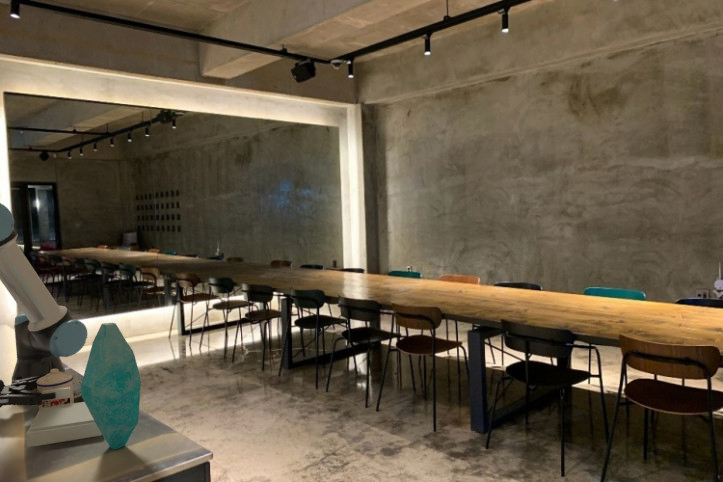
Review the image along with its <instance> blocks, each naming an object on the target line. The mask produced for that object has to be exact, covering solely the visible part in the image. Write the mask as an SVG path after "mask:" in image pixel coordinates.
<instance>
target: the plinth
mask: <svg viewBox="0 0 723 482" xmlns="http://www.w3.org/2000/svg"><path fill="white" fill-rule="evenodd" d="M25 435H26V448H31V447H40V446H44V445H51V444H58V443H62V442H69V441H77V440H83V439H88V438H93V437H101V436H103V435H102V433H101V432H100V430H99V429H98V427H97V425H96V423H95V421H94V419H93V417H92V415H91V413H90V411H89V409H88V407H87V405H86V404H85V402H84V401H82V402H74V403H72V404H65V405H57V406H50V407H43V408H42V409H40V410H39V409H38V412H37V414H36V415H35V417H34V419H33V421H32V422H31V424H30V426H29V428H28V430H27V431H26V434H25Z"/></svg>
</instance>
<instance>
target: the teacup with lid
mask: <svg viewBox="0 0 723 482" xmlns="http://www.w3.org/2000/svg"><path fill="white" fill-rule="evenodd" d="M70 373H71V372H65V373H64V372H60V371H59V370H58V369H51V370H50V373H48V374H47V375H45V376H43V377H41V378H39V379H38V380H37V382H36V385H37V388H36V392H41V394H42V391H44V390H52V389H60V388H68V387H70V398H65V399H57V400H50V401H43V400H42V405H39V406H38V411H39V410H40V409H42V408H43V407H50V406H57V405H65V404H72V403H75V402H74V401H75V400H74V399H76V398H77V399H78V398H79V397H82V395H81V391H79V393H75V394H74V385H75V384H81V383H82V379H77V380H74V381H73V376H72V374H70Z"/></svg>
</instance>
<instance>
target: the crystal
mask: <svg viewBox="0 0 723 482" xmlns="http://www.w3.org/2000/svg"><path fill="white" fill-rule="evenodd" d="M140 375H141V374H140V371H139V367H138V362H137V359H136V356H135V353H134V351H133V349H132V347H131V346H130V344H129V342H127V340H126V338H125V336H124V334H122V331H121V330H120V328H119V327H118V325H117V323H116V322H107V323H101V324H100V326H99V329H98V331H97V333H96V334H95V336H94V339H93V341H92V344H91V347H90V351H89V355H88V359H87V363H86V367H85V370H84V373H83V376H82V379H81V381H82V383H80V392H81V398H82V400H83V402H85V404H86V405H87V407H88V409H89V411H90V413H91V415H92V417H93V419H94V421H95V423H96V425H97V427H98V429H99V430H100V432H101V433H102V435H101V436H102V437H103V439H104V440H105V441H106V443H107V444H108V447H110V448H111V449H112V450H118V449H120V448H123V447H125V446H126V445H127V444H128V441H129V439H130V437H131V435H132V434H133V431H134V430H135V428H136V427H137V425H138V423H139V416H140V400H141V387H142V386H141V385H142V382H141V376H140Z"/></svg>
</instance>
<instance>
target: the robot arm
mask: <svg viewBox="0 0 723 482" xmlns="http://www.w3.org/2000/svg"><path fill="white" fill-rule="evenodd" d="M14 225H15V219H14V216H13V213H12V212H11V210H10V209H9V208H8V206H6V205H4V204H3V203H2V202H1V203H0V282H1V283H2V284H3V286H4V288H5V289H6V290H7V291H8V293H9V294H10V296H11V297H12V298H13V300H14V301H15V302H16V304H17V306H18V307H19V308H20V310H21V311H22V313H20V314H18V315H16V316H15V317H14V326H13V328H14V338H15V350H16V351H15V352H16V363H15V366H14V368H13V372H12V374H11V384H9V385H8V384H7V385H5V382H4V380H2V379H0V408H3V406H4V407H5V406H34V407H35V406H39V405H42V400H43V401H50V400H57V399H65V398H70V387H68V388H60V389H52V390H44V391H42V394H41V392H38V391H33V390H37V385H36V382H37V380H38V379H39V378H41V377H43V376H45V375H47V374H48V373H50V370H51V369H58V370H59V371H60V372H64V373H66V369H65V368H66V367H65V365H64V364H63V362H62V359H61V357H62V358H68V357H72V356H73V355H74V356H75V355H76V354H78V352H80V351H81V350H82V349H83V347H84V346H85V344H86V342H87V339H88V328H87V326H86V325H85V323H83V322H82V321H81V320H79V319H75V318H74V317H73V316H72V314H71V312H70V311H69V310H68V308H67V307H66V306H65V305H59V304H58V303H57V302H56V300H55V298H54V297H53V295H52V294H51V293H50V291H49V290H48V288H47V286H46V285H45V284H44V282H43V281H42V279H41V277H39V275H38V273H37V271H36V270H35V269H34V267H33V266H32V264H31V263H30V261H29V260H28V258H27V256H25V254H24V253H23V251H22V249H21V248H20V246H19V245H18V243H17V242H16V241H17V238H18V236H19V234H18V233H17V231H16V229H15V227H14ZM69 373H70V374H72V376H73V381H74V380H78V372H77V371H76V372H69Z"/></svg>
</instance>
